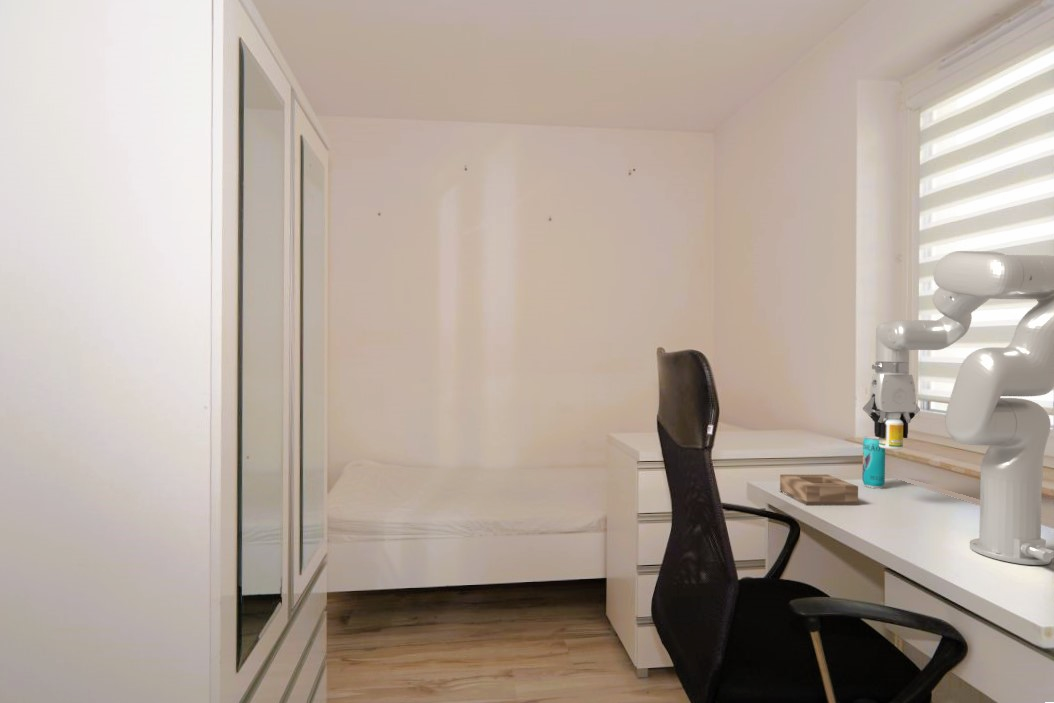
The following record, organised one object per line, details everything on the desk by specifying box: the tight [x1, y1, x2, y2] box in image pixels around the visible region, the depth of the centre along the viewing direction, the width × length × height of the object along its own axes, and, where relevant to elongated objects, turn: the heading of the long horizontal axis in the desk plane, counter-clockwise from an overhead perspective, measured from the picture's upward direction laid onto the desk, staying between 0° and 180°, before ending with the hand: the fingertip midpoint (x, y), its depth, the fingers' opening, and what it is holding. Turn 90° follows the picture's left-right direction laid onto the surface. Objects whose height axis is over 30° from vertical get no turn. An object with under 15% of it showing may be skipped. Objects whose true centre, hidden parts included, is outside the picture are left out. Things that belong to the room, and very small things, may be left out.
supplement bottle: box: [879, 412, 904, 450], centre depth 152 cm, size 5×5×10 cm
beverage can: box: [861, 435, 886, 489], centre depth 172 cm, size 6×6×15 cm
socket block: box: [779, 474, 859, 506], centre depth 158 cm, size 14×14×5 cm
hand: (891, 436), depth 152 cm, fingers closed on supplement bottle, 5 cm apart
